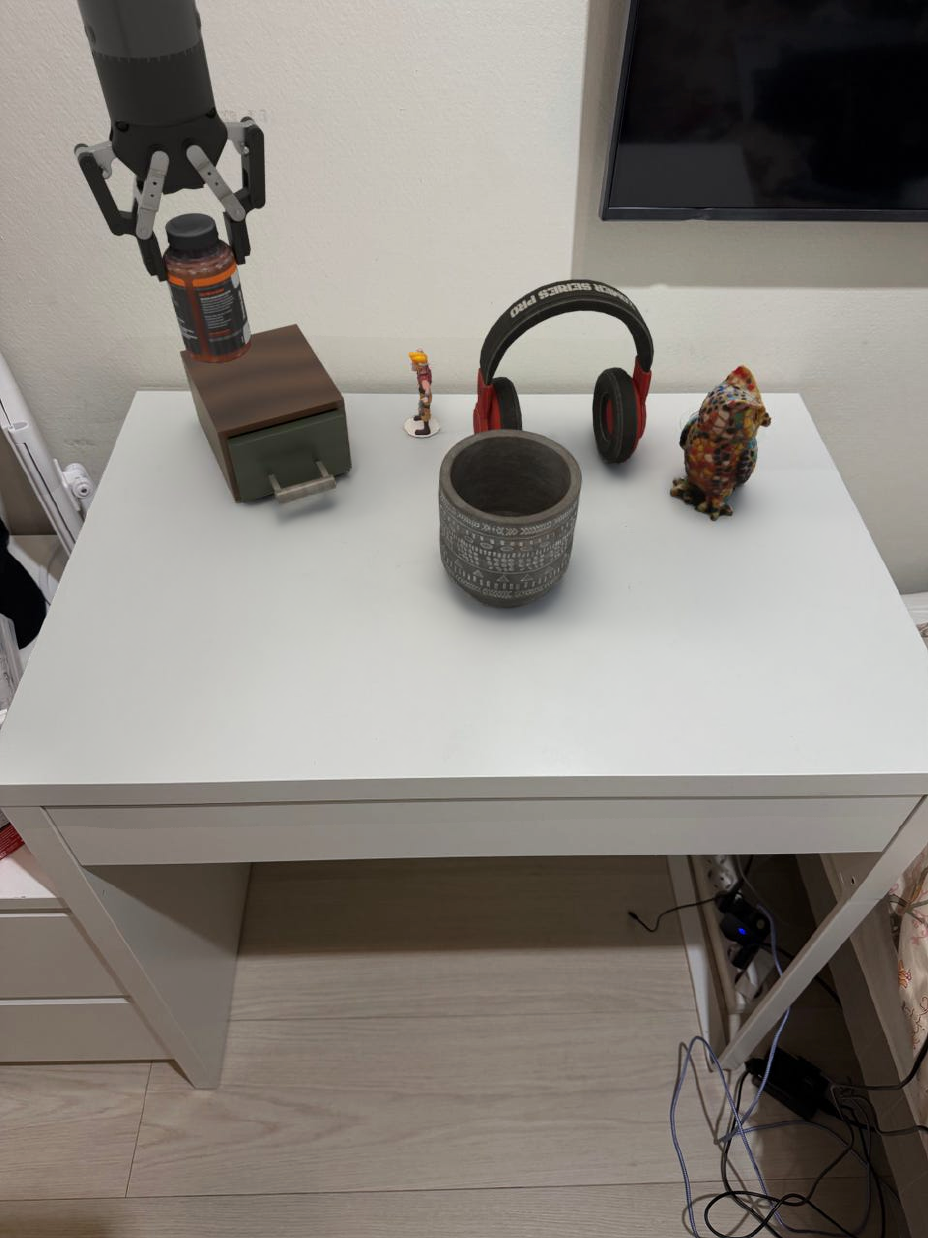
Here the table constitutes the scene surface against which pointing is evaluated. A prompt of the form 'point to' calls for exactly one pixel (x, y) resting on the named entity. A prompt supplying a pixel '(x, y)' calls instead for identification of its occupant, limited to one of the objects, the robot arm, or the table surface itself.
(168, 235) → the supplement bottle
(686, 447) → the figurine
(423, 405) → the action figure
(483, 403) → the headphones
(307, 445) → the drawer
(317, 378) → the cabinet
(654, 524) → the table surface
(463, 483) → the planter
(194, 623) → the table surface
